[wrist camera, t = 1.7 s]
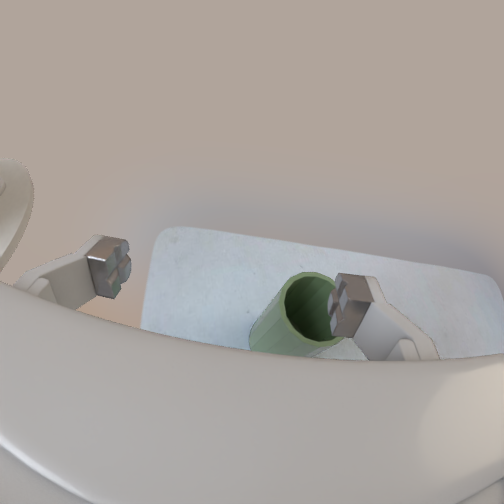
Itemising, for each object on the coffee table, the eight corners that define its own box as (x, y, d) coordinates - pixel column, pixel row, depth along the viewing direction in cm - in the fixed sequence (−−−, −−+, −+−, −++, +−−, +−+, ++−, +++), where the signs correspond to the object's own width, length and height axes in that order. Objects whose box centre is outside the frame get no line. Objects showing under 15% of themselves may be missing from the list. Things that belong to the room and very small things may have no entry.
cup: (236, 344, 25) (262, 309, 18) (271, 303, 29) (306, 258, 22) (284, 382, 24) (329, 363, 17) (315, 338, 28) (362, 304, 21)
